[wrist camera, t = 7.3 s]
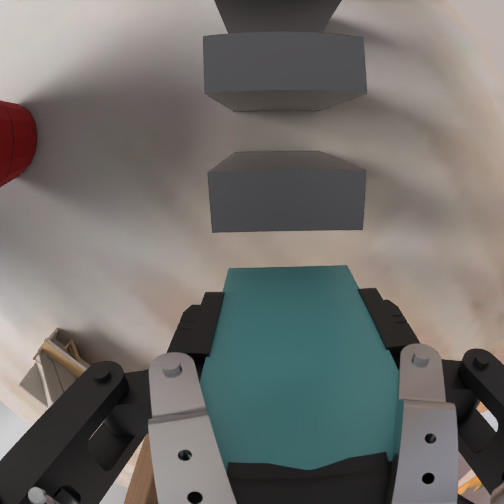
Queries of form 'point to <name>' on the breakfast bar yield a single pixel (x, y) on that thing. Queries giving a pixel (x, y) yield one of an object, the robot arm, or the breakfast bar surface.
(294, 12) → the domino
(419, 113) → the breakfast bar surface
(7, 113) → the plastic cup
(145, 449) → the wooden block
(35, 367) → the architectural model
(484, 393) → the robot arm
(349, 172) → the domino
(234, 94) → the domino
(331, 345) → the domino
